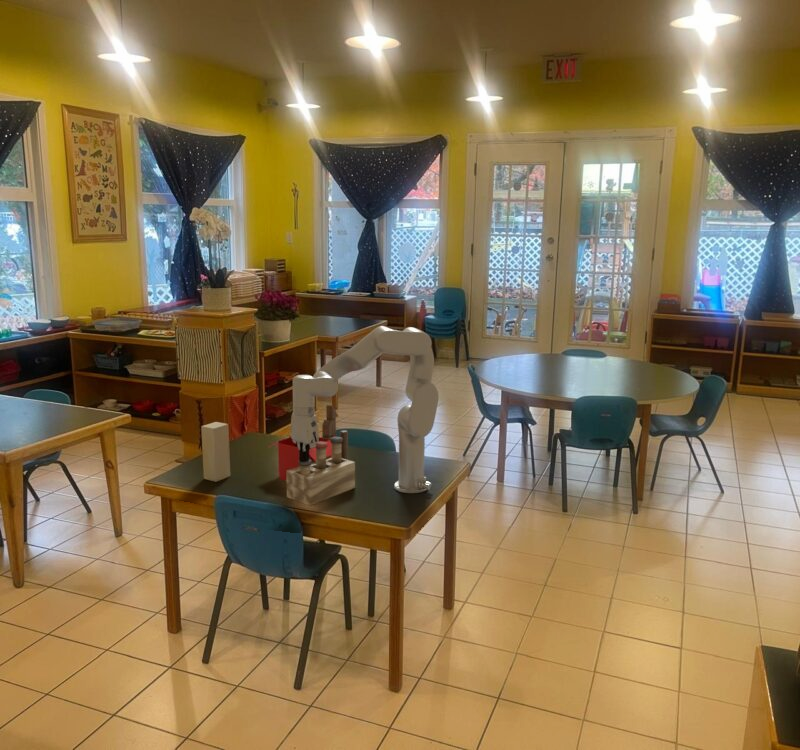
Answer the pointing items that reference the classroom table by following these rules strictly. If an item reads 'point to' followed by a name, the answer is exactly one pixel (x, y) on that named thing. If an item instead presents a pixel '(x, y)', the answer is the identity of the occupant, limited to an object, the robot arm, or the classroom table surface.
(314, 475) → the wooden cylinder block
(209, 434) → the toy refrigerator
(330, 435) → the wooden toy
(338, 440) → the plug
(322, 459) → the plug mid
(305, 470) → the plug
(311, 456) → the jack-in-the-box
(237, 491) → the classroom table surface
